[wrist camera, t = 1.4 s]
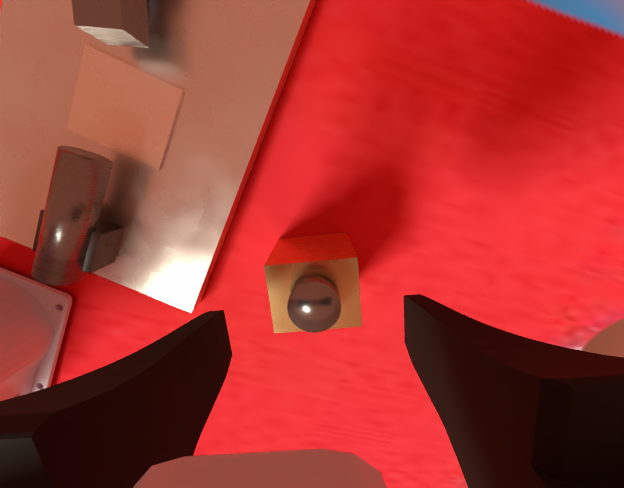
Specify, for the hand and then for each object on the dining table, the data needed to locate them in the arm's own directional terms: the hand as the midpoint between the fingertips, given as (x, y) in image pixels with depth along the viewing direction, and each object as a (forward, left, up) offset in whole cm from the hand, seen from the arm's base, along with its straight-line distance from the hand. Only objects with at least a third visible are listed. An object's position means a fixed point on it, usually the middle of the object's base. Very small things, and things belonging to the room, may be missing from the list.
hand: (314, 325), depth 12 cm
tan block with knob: (0, 0, -8) cm, 8 cm away
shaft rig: (+4, +13, -8) cm, 16 cm away
